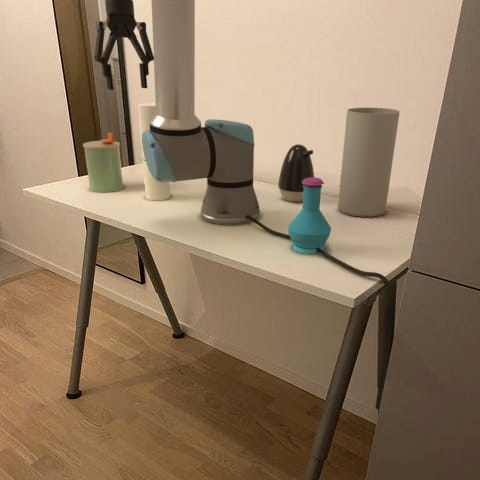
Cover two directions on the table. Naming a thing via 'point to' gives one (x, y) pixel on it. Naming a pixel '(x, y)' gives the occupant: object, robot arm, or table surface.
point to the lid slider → (109, 138)
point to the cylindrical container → (152, 186)
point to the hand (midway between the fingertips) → (127, 88)
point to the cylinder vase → (367, 160)
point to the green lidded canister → (103, 166)
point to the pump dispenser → (295, 173)
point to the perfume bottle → (310, 220)
